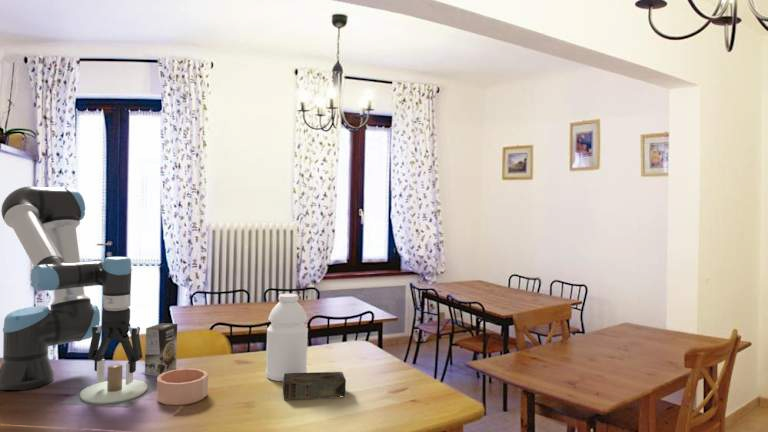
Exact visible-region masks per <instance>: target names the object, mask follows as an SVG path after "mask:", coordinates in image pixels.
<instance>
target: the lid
mask: <svg viewBox="0 0 768 432" xmlns="http://www.w3.org/2000/svg"><path fill="white" fill-rule="evenodd" d="M123 366H124V365H122V364H117V363H116V364H111V365H108V366H107V379H106V380H107V381H105V382H101V383H97V382H96V383H97V384H96V383H94V384H92V385H89V386H86V387H84V389H82V390H81V391H80V392H81V393H80V392H79V393H80V398H81V400H82V401H84V402H87V403H92V404H111V403H118V402H124V401H128V400H131V399H134V398H137V397H139V396H141V395H143V394H144V393H145V392H146V391H147V384H146V383H145V382H146V381H143V380H139V379H134V378H133V382H132V383H130V384H128V385H126V378H123V368H124V367H123Z"/></svg>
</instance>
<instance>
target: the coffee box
mask: <svg viewBox="0 0 768 432" xmlns="http://www.w3.org/2000/svg"><path fill="white" fill-rule="evenodd" d="M177 342H178V323H169V322H168V323H165V322H161V323H158V324H155V325H151V326H149V327H146V328H145V349H144V350H145V351H144V352H145V353H144V375H147V376H153V377H154V376H156V377H158V376H159V375H161V374H162V373H164V372H168V371H171V370H176V369H177V354H178V353H177V350H178V343H177Z"/></svg>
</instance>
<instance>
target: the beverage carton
mask: <svg viewBox="0 0 768 432" xmlns="http://www.w3.org/2000/svg"><path fill="white" fill-rule="evenodd" d="M346 383H347V380H346V377H345V374H344V373H343V371H325V372H324V371H323V372H319V371H318V372H313V371H312V372H306V373H285V374H284V380H283V381H282V394H283V395H282V396H283V401H296V400H297V401H298V400H299V399H302V400H317V399H316V398H322V399H331V398H330V397H339V398H341V397H340V396H345V397H346V390H347V389H346V386H347V385H346Z"/></svg>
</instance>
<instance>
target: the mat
mask: <svg viewBox="0 0 768 432" xmlns="http://www.w3.org/2000/svg"><path fill="white" fill-rule="evenodd" d="M105 381H107V379H104V381H102V382H105ZM144 382H145V383H146V384H147V391H146V392H145V393H144V394H143V395H141V396H139V397H137V398H134V399H131V400H128V401H124V402H118V403H111V404H92V403H87V402H84V401H82V400H81V398H80V393H81V391H80V392H78V393H76V394H75V395H73V396H70V398H68V399H66V400H63V402H60V404H61V405H74V406H75V405H79V406H95V407H96V406H97V407H112V408H113V407H116V408H117V407H118V408H130V407H131V406H132V405H134V404H135V403H137V402H138V401H140V400H141V399H142V398H144V397H145V396H147V395H148V394H149V393H151V392H152V391H154V390H155V389H157V381H155V382H154V381H144ZM100 383H101V382H100ZM95 384H97V382H96V383H95Z"/></svg>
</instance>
